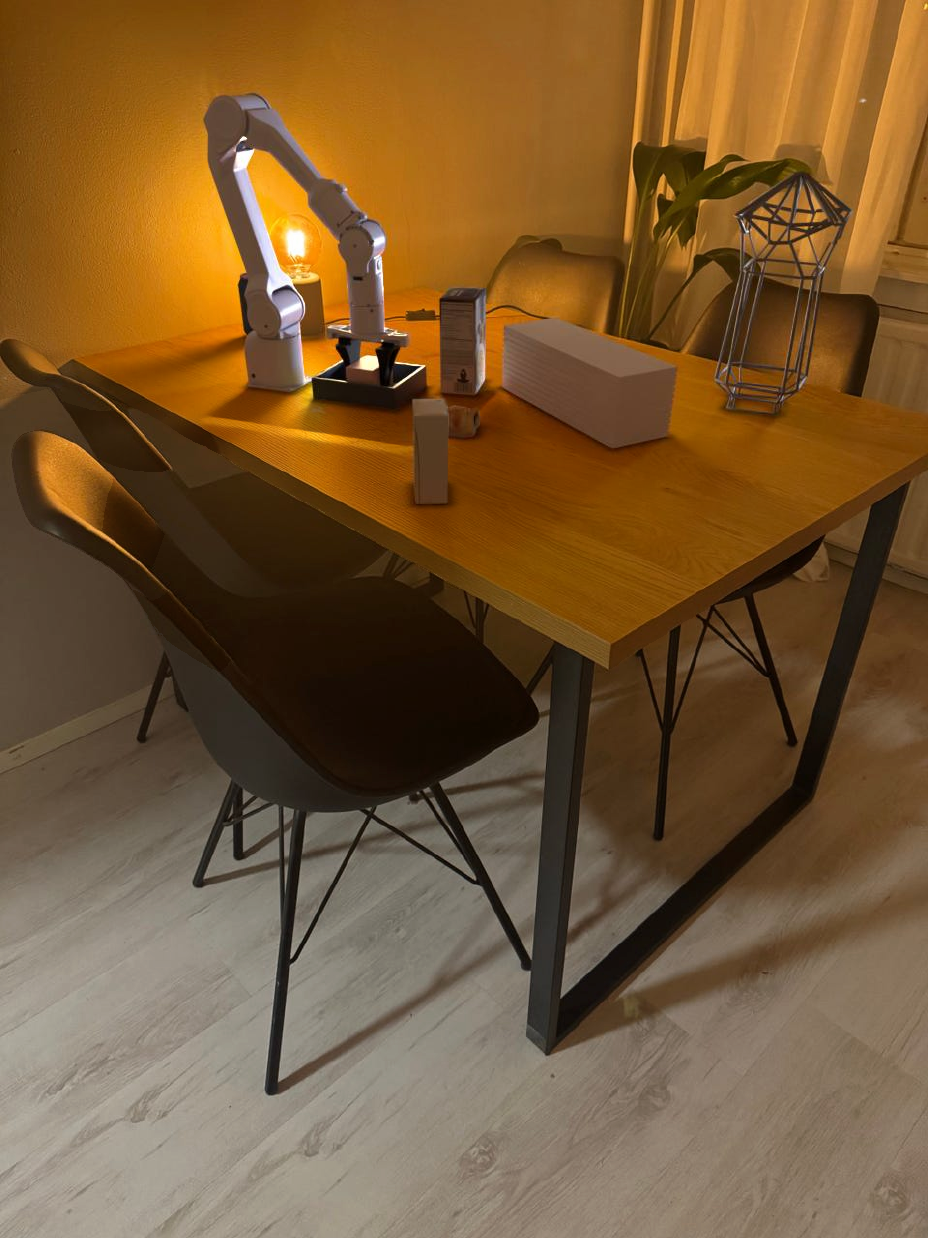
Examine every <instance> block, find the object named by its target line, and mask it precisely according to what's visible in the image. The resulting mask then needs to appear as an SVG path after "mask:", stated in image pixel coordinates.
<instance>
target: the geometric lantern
mask: <svg viewBox="0 0 928 1238" xmlns="http://www.w3.org/2000/svg"><path fill="white" fill-rule="evenodd" d="M802 184H803V188H804V191H805V195H806V198H807V202H808V205H809V209H807V208H806V209H805V208H798V204H799V198H800V194H801V188H802ZM794 186H795V188H794ZM787 187H788V188H787ZM785 188H787V189H786V191H785V193H784V195H783V196H782V198H781V199H780V201H779V202H778V204H773V203H770V202H768V201H769V200H771V198H774V196H776V195H777V194H779V193H780V192H781V191H783V190H785ZM793 189H794V193H793V199H792V203H791V207H787V206H784V203H785V202H786V200H787V199H788V197H789V195H790V193H791V192H792V191H793ZM811 194H812V195H813V197H814V199H815V200H816V202H817V204H818V205H819V207H820V208H817V209H816V210H815V205H814V203H813V199H812V195H811ZM830 200H831V201H832V202H833V203H832V202H831V201H830ZM834 204H835V205H836V206H837V207H836V206H835V205H834ZM761 207H762V208H763V209H764V210H765V211H767V213H769V214H770V215H771V217H770V216H769V217H768V216H763V215H757V214H754V213H755V212H757V210H759V209H760V208H761ZM773 209H774V210H773ZM780 211H784V212H789V213H790V216H789V221H788V222H787V221H786V220H785V219H784V218H782V217H781V216H780V215H779V212H780ZM844 212H846V213H845V215H844V216H843V215H842V213H844ZM797 213H799V214H808V215H811V218H810V220H809V221H808V222H795V219H796V217H797ZM818 213H819V214H821V213H824V215H825V217H826V218H825V219H822V220H821V221H814V219H815V216H816V214H818ZM852 213H853V209H852V207H850V206H848V205H847V204H846V203H844V202H843V201H842V200H841V199H839V197H837V196H836V195H834V194H833V193H832V192H831V191H830V190H828V189H827V188H826V187H825V186H824V185H822V184H821V183H820V182H819V181H818V180H816V178H814V177H813V176H812V175H811V173H810V172H806V171H804V170H802V171H799V170H796V171H793V172H792V173H791V174H789V175H788V176H787V177H785V178H784V179H782V180H781V181H779V182H778V183H776V184H775V185H773V186H772V187H770V188H768V190H766V191H764V192H763V193H762V194H760V195H758V196H757V197H756V198H754V199H752V200H751V201H749V202H748V203H747V205H746V206H745V207H742V208H741V209H739V210H738V211H736V212H735V213H734V214H733V217H735V219H736V221H737V224H738V226H739V233H740V263H739V264H740V267H739V271H740V273H739V278H738V281H737V285H736V290H735V294H734V298H733V300H732V301H733V302H732V306H731V310H730V312H729V313H730V314H729V318H728V322H727V326H726V329H725V334H724V339H723V342H722V345H721V350H720V354H719V358H718V361H717V367H716V370H715V375H714V378H713V379H714V382H715V384H716V385H717V386H718V387H719V388H720V389H721V390H722V391H723V392H724V393H725V394H726V395H728V397H729V398H728V402H727V404H726V407H725V408H726V410H729V411H732V412H740V413H741V412H742V413H750V414H759V415H768V416H769V415H770V416H776V415H780V414H781V410H782V407H783V404H784V401H786V400H788V399H789V398H791V397H792V396H793V395H795V394H796V393H797V394H798V393H799V391H800V389H801V388H802V387H803V385H804V384H805V382H806V381H807V379H808V376H809V371H810V366H811V365H810V364H811V358H812V352H813V345H814V340H815V339H814V338H815V332H816V328H817V327H816V326H817V320H818V314H819V307H820V301H821V293H822V289H823V281H824V276H825V268H826V266H827V264H828V262H829V260H830V258H831V256H832V255H833V254H832V253H833V252H834V250H835V248H836V245H838V241H839V240H841V239H842V236H843V233H844V229H845V227H846V225H847V222H848V221H849V219H850V217H851V215H852ZM744 220H745V221H744ZM754 220H757V221H763V222H767V233H765V232H764V231H763V230H762V229H761V228H760V227H759V226H758V224H757V223H756V222H754ZM772 225H777V226H781V227H782V226H783V227H785V229H784V230H783V232H782V233H781V234H780V236H778V238H777V239H776V240H773V239H771V236H772V235H771V229H772ZM832 226H833V227H835V228H837V229H836V232H835V234H834V237H833V240H832V242H831V241H829V242H828V244H827V246H826V247H825V249H824V251H823V252H822V254H821V256H820V258H819V259H818V257H817V253H816V250H815V248H814V244H813V241H812V238H811V236H812V235H815V234H816V233H818V232H821V231H823V230H825V229H827V228H830V227H832ZM803 227H805V228H803ZM806 227H807V229H806ZM752 228H753V229H754V230H755V231H756V232H757V233H758V234H759V235H760V236H761V237H762V239H764V240H765V241H766V242H767V243H766V244H765V245H764V247H763V248H762V249H761V250H760V251H759V253H758V254H757V253H756V250H755V249H756V248H755V245H754V241H753V238H752V233H751V232H752ZM791 231H794V232H798V233H803V234H801V235H799V236H796V237H793V238H792V239H791ZM747 234H748V237H749V241H750V244H751V248H752V249H751V250H752V252H753V257H754V258H752V257H751V259H749V260H748V261H747V262H746V263H745V235H747ZM786 235H787V236H786ZM785 236H786V237H787V238H786V240H782V239H783V238H784V237H785ZM806 238H807V239H808V242H809V245H810V247H811V251H812V254H813V256H814V260H815V262H808V261H799V258H798V256H797V255H798V254H797V253H796V250H795V247H794V243H797V242H799V241H801V240H803V239H806ZM785 245H786V246H789V249H790V251H791V254H792V257H793V260H785V259H775V258H769V257H770V255H771V254H772V252H773V251H774V250H775V248H776V247H777V246H785ZM769 246H771V247H770V249H768V251H767V252H766V254H765V255H764V257H760V256H761V255H762V253H764V251H765V250H766V249H767V248H768V247H769ZM828 249H829V250H828ZM827 251H828V252H827ZM826 253H827V254H826ZM825 255H826V257H825ZM824 257H825V259H824ZM823 259H824V261H823ZM822 261H823V263H822V264H821V262H822ZM767 262H772V263H783V264H793V265H794V264H795V265H796V268H797V271H798V273H799V275H789V274H782V273H771V272H765V271H766V266H767ZM756 263H762V266H761V270H760V271H755V267H756ZM801 265H802V266H803V265H804V266H815V267H814V268H813V270H812V273H811V274H810V275H805V274H804V272H803V269H802V266H801ZM749 269H750V270H749ZM754 275H759V279H758V283H757V288H756V292H755V296H754V301H753V305H752V310H751V314H750V319H749V322H748V326H747V327H748V328H747V332H746V337H745V341H744V345H743V349H742V354H741V358H740V361H737V362H736V361H733V359H734V353H735V349H736V346H737V341H738V337H739V333H740V328H741V324H742V320H743V317H744V312H745V309H746V304H747V300H748V296H749V292H750V288H751V284H752V280H753V276H754ZM765 276H767V277H768V276H769V277H776V278H777V277H778V278H785V279H793V280H800V282H799V286H798V292H797V297H796V302H795V308H794V309H795V310H794V314H793V319H792V327H791V332H790V338H789V343H788V350H787V354H786V360H785V367H781V366H775V365H774V366H773V365H765V364H760V363H759V364H758V363H753V362H745V359H746V354H747V351H748V347H749V343H750V342H749V341H750V337H751V332H752V328H753V324H754V320H755V315H756V310H757V306H758V302H759V297H760V293H761V289H762V285H763V281H764V277H765ZM818 278H819V279H818ZM806 280H807V281H809V280H810V281H811V284H810V291H809V297H808V301H807V307H806V312H805V317H804V320H803V321H804V322H803V326H802V330H801V334H800V340H799V344H798V349H797V355H796V358H795V363H794V367H793V368H790V363H791V358H792V352H793V348H794V347H793V346H794V341H795V334H796V328H797V324H798V318H799V312H800V307H801V301H802V295H803V288H804V283H805V281H806ZM817 281H818V286H817V291H816V285H817ZM740 291H741V292H740ZM815 291H816V297H815V304H814V311H813V317H812V323H811V331H810V335H809V336H810V337H809V342H808V343H809V344H808V350H807V356H806V364H805V370H804V372H802V369H803V361H804V356H805V351H806V343H807V336H808V332H809V331H808V330H809V324H810V318H811V311H812V306H813V300H814V295H815ZM739 295H740V298H739ZM738 300H739V302H738ZM738 303H739V304H738ZM737 304H738V307H737ZM736 307H737V308H738V309H737V314H736V318H735V319H736V320H735V323H734V324H735V325H734V330H733V335H732V340H731V346H730V351H729V356H728V361H727V364H726V365H725V366H724V367H723V368H722V369H721V367H722V363H723V359H724V355H725V350H726V347H727V344H728V343H727V342H728V340H729V336H730V331H731V327H732V324H733V319H734V315H735V311H736ZM734 366H735V367H737V366H739V367H738V368H739V371H738V381H737V379H736V376H735V374H734V372H733V370H732V367H734ZM743 366H744V367H750V368H758V369H764V370H765V369H766V370H771V371H772V370H773V371H780V372H783V378H782V384H781V385H771V384H761V383H753V382H743V381H742V375H743V374H742V373H743V372H742V371H743V370H742V368H743ZM724 373H725V378H724V380H722V379H720V378H721V377H722V376H723V375H724ZM789 373H790V374H789ZM788 374H789V375H788ZM794 374H796V379H795V381H794V382H793V383H790V385H788V386H787V383H788V381H789V380H790V379H791V378H792V377H793V375H794ZM730 375H731V377H732V380H733V382H734V383H733V382H729V380H730ZM786 386H787V387H786ZM793 386H794V389H791V390H789V389H790V388H792V387H793ZM725 387H726V388H727V389H726V388H725ZM730 387H732V389H731V388H730ZM768 388H769V389H768ZM770 388H771V389H770ZM741 389H743V390H749V391H754V392H761V393H765V394H771V395H763V394H753V393H744V392H741ZM773 389H775V390H773ZM776 389H777V390H776ZM736 391H737V393H736ZM773 395H776V396H773ZM760 398H762V399H760ZM763 398H764V399H763ZM737 399H738V400H745V401H752V402H758V403H764V404H771V405H773V409H772V410H773V411H772V412H769V411H761V410H751V409H742V408H741V409H740V408H736V404H737ZM765 399H766V400H765ZM767 399H773V400H776V401H772V400H767ZM731 404H732V407H731ZM777 405H779V406H778V409H777Z"/></svg>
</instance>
